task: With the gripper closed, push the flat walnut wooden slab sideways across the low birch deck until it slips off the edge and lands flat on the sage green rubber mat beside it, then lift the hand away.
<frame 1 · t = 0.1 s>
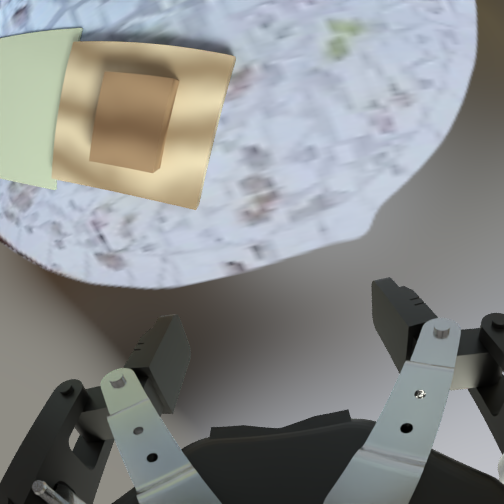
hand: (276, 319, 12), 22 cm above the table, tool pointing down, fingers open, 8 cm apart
birch deck: (134, 117, 28), on the table
walnut slab: (136, 119, 27), point 2 cm above the table, touching birch deck
sage mat: (12, 106, 26), on the table
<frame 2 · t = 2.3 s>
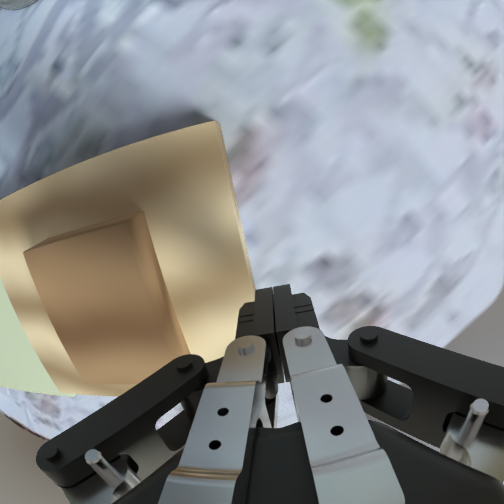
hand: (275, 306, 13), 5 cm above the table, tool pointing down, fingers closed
birch deck: (114, 286, 19), on the table
walnut slab: (114, 298, 17), point 2 cm above the table, touching birch deck
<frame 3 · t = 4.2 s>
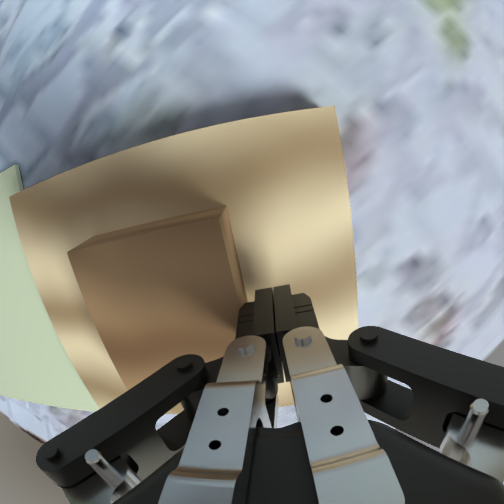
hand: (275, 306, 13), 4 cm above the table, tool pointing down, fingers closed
birch deck: (184, 289, 17), on the table
walnut slab: (178, 307, 15), point 2 cm above the table, touching birch deck, gripper
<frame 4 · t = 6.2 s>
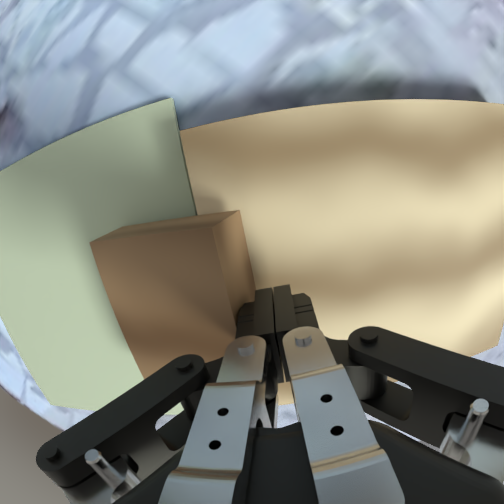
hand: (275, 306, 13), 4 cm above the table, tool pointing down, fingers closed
birch deck: (384, 253, 16), on the table
walnut slab: (195, 303, 15), point 2 cm above the table, tilted 19°, touching gripper
sage mat: (78, 301, 18), on the table
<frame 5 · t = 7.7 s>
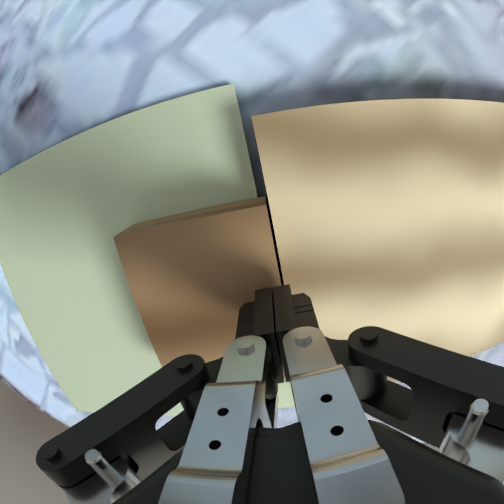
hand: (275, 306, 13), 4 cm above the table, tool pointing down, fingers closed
birch deck: (432, 243, 16), on the table
walnut slab: (216, 291, 16), resting on sage mat
sage mat: (117, 299, 17), on the table
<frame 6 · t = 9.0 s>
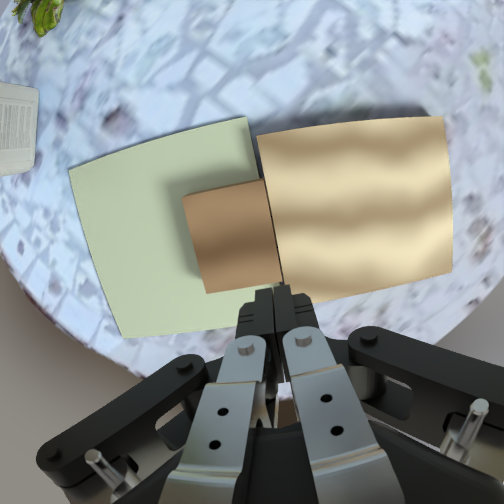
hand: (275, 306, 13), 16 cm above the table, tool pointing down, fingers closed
photo printer: (28, 128, 26), on the table
birch deck: (365, 206, 28), on the table
walnut slab: (235, 232, 29), resting on sage mat
sage mat: (172, 242, 29), on the table
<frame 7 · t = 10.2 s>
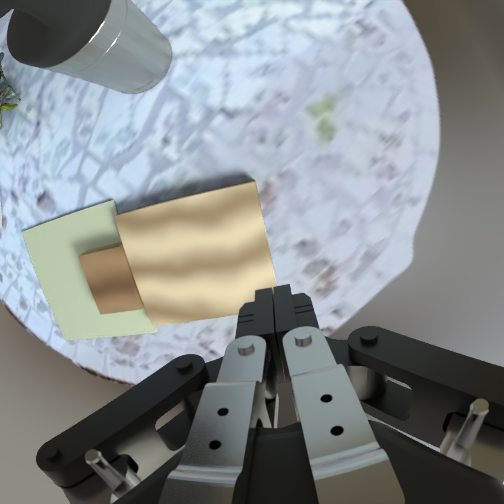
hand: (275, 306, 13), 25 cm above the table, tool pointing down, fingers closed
passion flower: (9, 95, 32), on the table
birch deck: (199, 257, 39), on the table
walnut slab: (115, 275, 40), resting on sage mat
sage mat: (83, 279, 41), on the table
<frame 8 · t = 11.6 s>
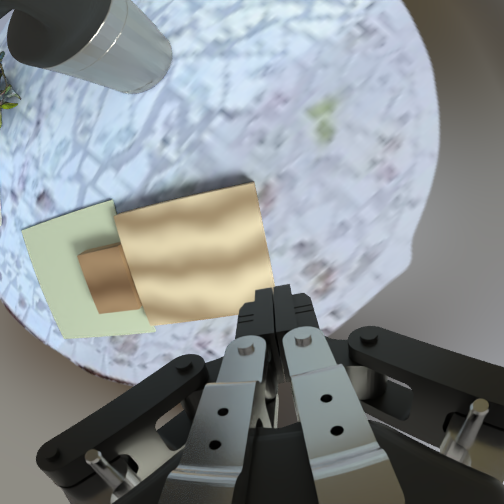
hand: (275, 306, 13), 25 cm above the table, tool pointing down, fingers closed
passion flower: (9, 94, 32), on the table
birch deck: (197, 257, 39), on the table
walnut slab: (114, 275, 40), resting on sage mat
sage mat: (82, 279, 41), on the table
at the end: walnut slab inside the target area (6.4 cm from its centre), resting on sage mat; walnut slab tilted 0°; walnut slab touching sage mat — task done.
